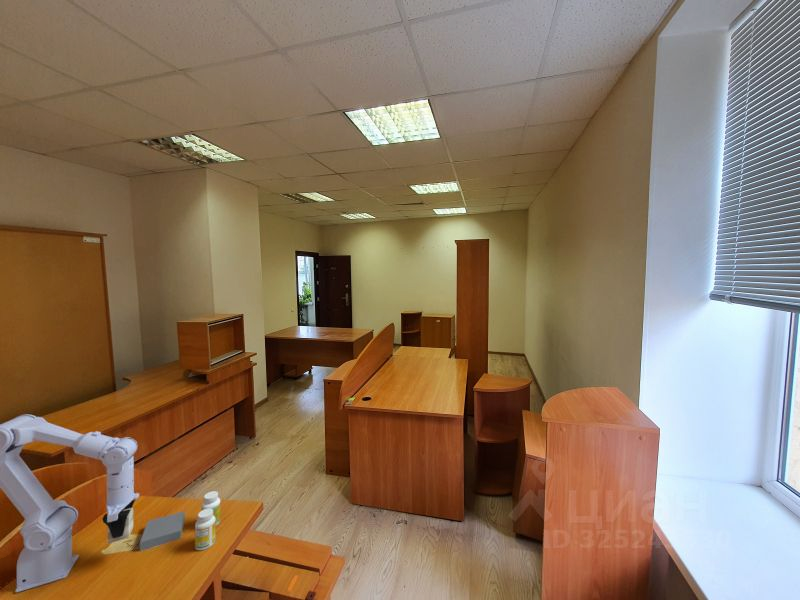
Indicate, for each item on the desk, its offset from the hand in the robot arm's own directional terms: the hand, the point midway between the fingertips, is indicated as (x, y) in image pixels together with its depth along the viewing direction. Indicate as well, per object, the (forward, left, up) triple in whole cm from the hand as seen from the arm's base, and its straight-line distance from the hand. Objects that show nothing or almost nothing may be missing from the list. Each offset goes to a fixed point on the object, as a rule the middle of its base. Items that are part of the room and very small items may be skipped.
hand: (120, 530), depth 89 cm
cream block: (0, 0, -1) cm, 1 cm away
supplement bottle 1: (+22, +4, -9) cm, 24 cm away
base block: (+9, +6, -9) cm, 14 cm away
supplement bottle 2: (+21, -5, -9) cm, 23 cm away
